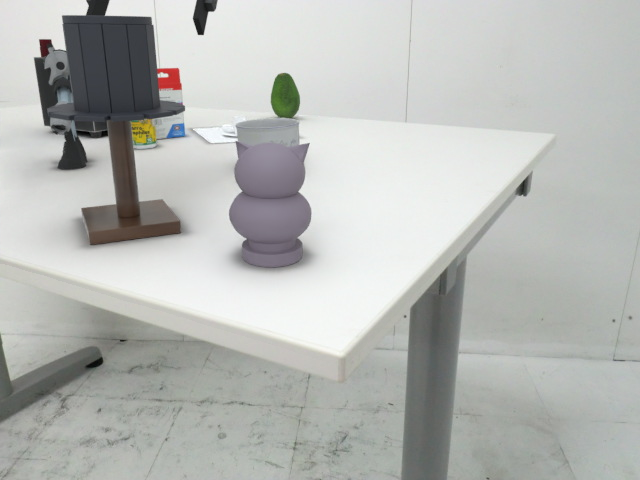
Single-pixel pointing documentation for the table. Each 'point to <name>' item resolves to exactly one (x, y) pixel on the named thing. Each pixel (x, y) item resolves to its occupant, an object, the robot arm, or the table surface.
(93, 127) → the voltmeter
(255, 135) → the teacup
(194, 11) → the robot arm
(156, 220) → the stand
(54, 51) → the robot
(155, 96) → the hat
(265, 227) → the cat figurine
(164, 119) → the ink box
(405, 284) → the table surface
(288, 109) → the fruit
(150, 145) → the supplement bottle
